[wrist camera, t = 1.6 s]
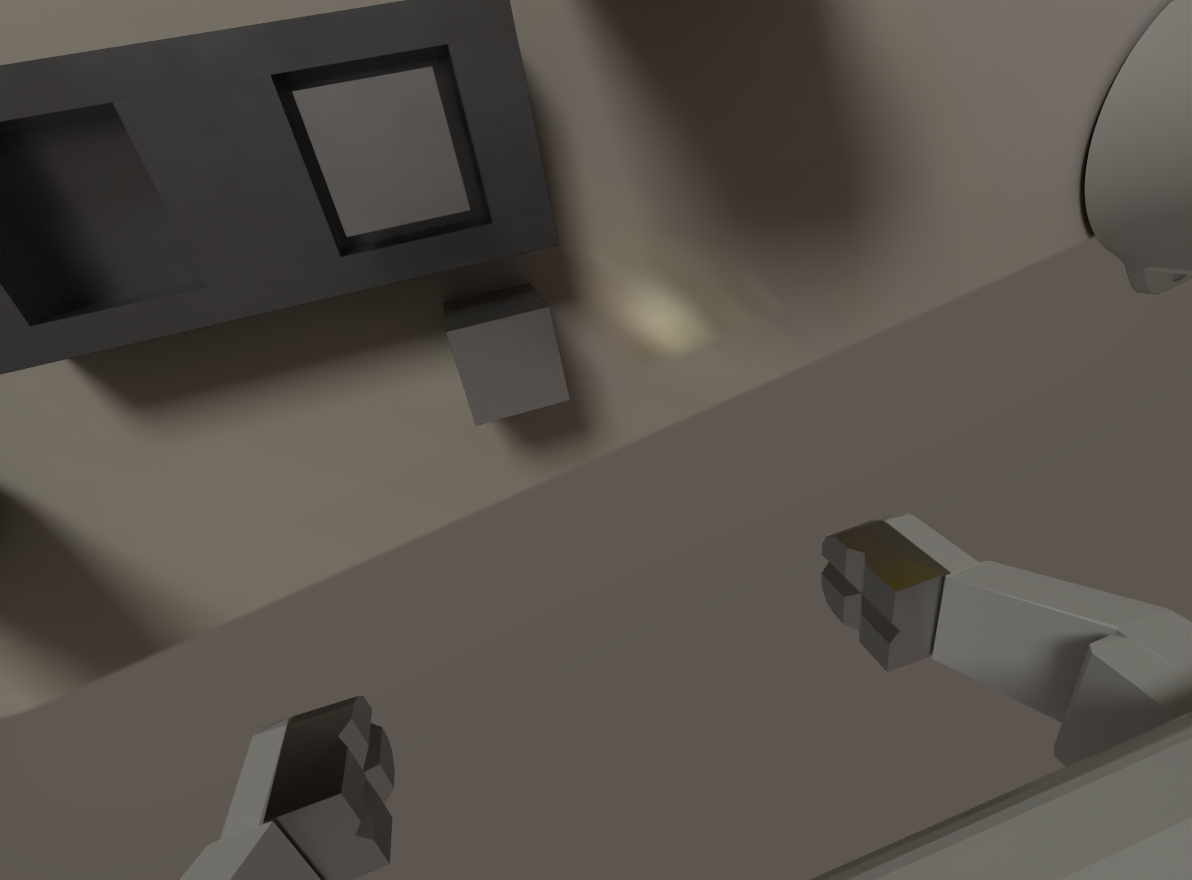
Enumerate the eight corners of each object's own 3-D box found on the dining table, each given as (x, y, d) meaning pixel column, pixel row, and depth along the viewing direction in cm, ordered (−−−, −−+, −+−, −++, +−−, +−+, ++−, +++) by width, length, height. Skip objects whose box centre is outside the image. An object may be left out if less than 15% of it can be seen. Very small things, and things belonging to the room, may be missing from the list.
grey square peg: (431, 86, 21) (432, 66, 17) (462, 200, 23) (470, 210, 18) (321, 106, 20) (292, 91, 16) (363, 222, 22) (346, 237, 18)
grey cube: (529, 282, 26) (549, 306, 22) (548, 363, 28) (569, 400, 23) (443, 303, 25) (446, 332, 21) (468, 384, 27) (475, 426, 23)
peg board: (493, 13, 21) (506, -16, 18) (540, 233, 25) (558, 244, 22) (-106, 113, 18) (-232, 102, 15) (50, 345, 22) (-20, 379, 19)
